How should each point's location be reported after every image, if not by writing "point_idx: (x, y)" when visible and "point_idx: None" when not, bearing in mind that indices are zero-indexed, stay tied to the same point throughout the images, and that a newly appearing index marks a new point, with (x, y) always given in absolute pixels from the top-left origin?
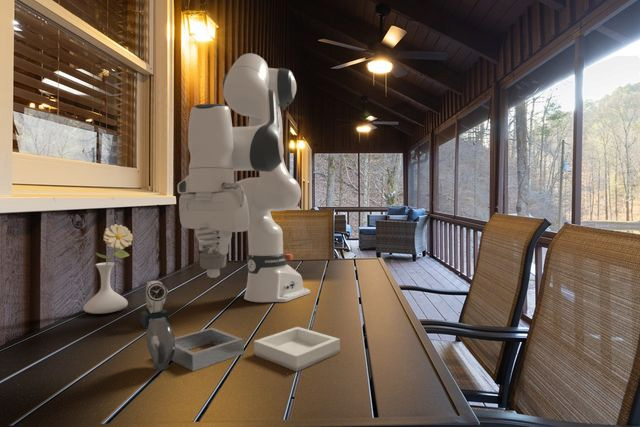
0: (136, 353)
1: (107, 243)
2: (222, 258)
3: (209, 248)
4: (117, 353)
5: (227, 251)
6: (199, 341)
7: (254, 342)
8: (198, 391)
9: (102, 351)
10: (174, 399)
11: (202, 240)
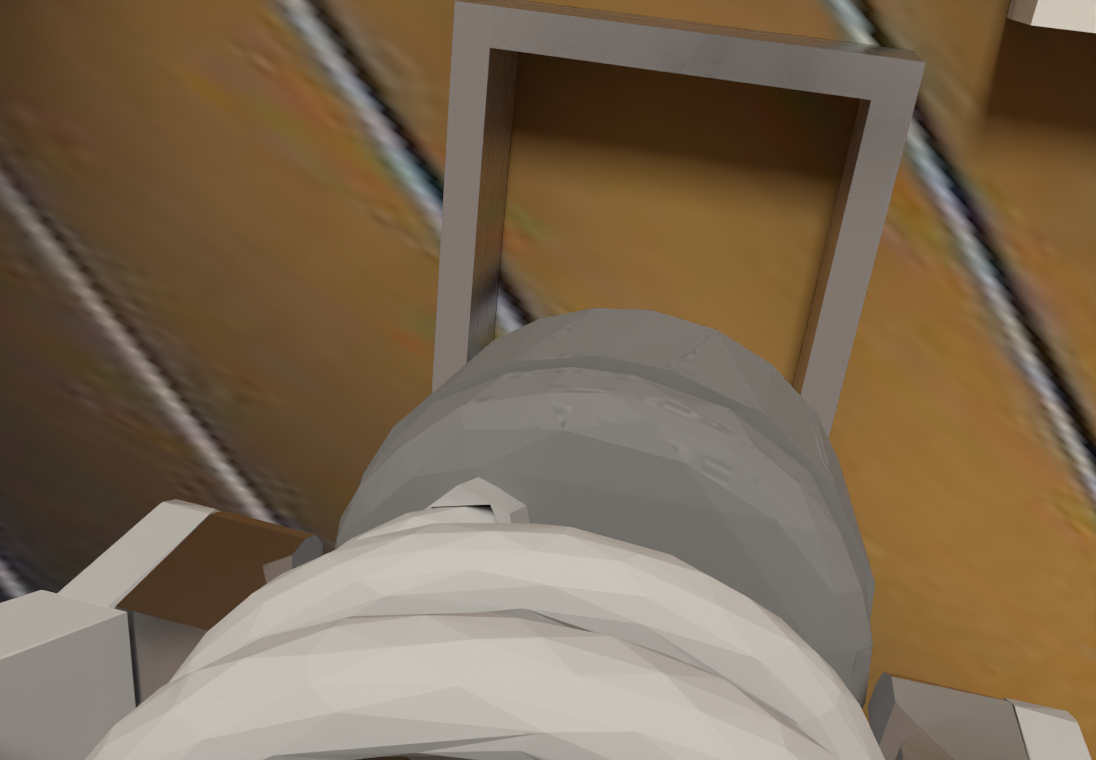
0: (310, 417)
1: None
2: (869, 614)
3: (296, 560)
4: (234, 464)
5: (1069, 742)
6: (500, 146)
7: (1034, 24)
8: (1042, 582)
9: (150, 482)
10: (989, 676)
11: (81, 754)
